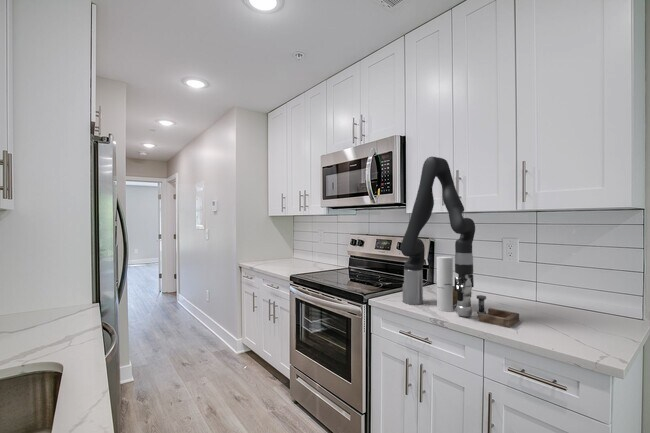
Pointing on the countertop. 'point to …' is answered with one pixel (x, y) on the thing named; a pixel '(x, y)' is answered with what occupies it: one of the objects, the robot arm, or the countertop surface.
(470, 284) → the plastic bottle
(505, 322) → the wooden tray
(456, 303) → the natural sponge
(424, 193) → the robot arm
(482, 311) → the bobbin post
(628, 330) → the countertop surface
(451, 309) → the cylindrical container
